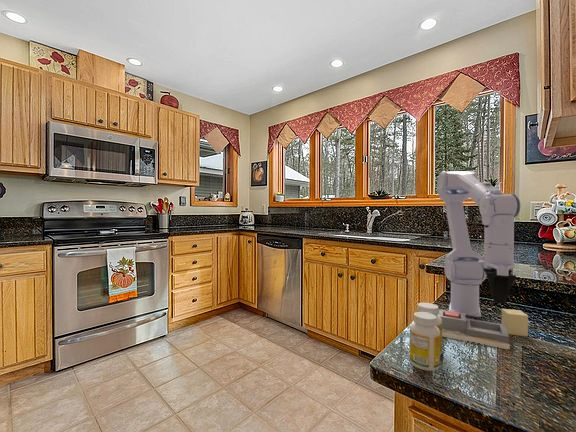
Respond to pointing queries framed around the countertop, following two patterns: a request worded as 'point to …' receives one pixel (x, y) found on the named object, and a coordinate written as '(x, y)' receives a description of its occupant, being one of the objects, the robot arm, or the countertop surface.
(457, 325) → the panel
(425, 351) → the supplement bottle
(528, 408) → the countertop surface
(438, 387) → the countertop surface
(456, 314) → the plunger
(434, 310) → the supplement bottle
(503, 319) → the tan block
